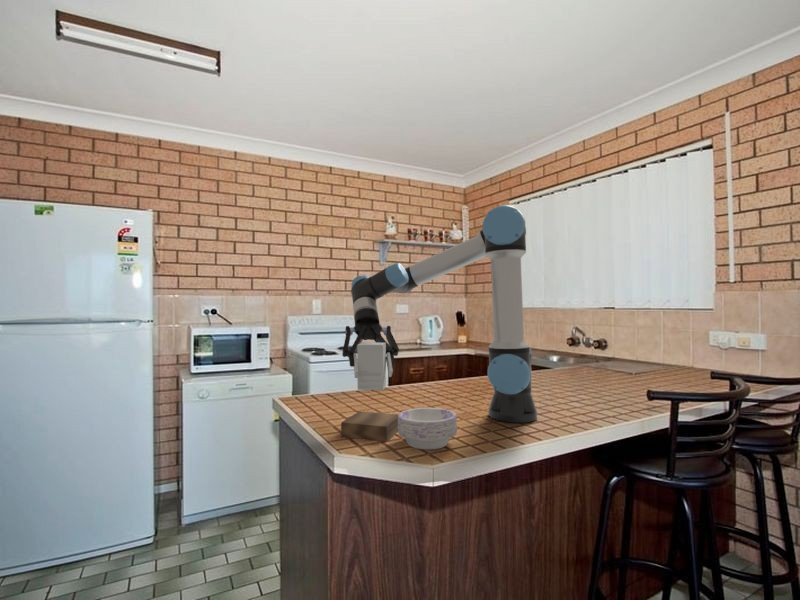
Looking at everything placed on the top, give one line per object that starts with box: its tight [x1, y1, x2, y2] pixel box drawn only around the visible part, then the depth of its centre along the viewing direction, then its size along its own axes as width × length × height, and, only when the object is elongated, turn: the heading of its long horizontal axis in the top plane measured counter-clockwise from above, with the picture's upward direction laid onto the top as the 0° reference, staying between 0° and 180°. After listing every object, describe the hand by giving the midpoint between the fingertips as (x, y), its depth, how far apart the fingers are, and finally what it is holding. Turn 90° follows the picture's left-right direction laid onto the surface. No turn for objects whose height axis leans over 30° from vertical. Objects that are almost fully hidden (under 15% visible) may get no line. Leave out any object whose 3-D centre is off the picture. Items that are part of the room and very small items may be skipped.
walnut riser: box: [340, 411, 399, 443], centre depth 120 cm, size 13×13×4 cm
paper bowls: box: [397, 407, 458, 451], centre depth 110 cm, size 15×15×8 cm
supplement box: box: [356, 341, 387, 391], centre depth 121 cm, size 7×7×13 cm
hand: (373, 374), depth 117 cm, fingers closed on supplement box, 9 cm apart
